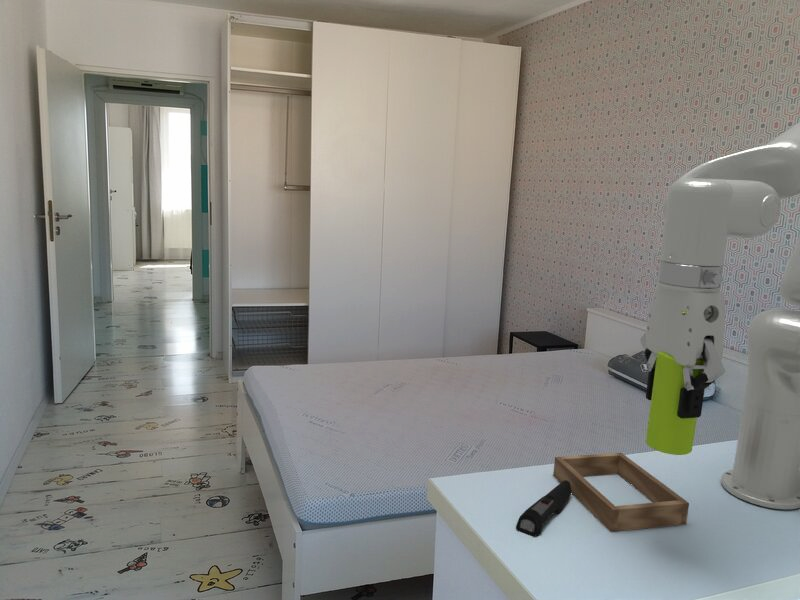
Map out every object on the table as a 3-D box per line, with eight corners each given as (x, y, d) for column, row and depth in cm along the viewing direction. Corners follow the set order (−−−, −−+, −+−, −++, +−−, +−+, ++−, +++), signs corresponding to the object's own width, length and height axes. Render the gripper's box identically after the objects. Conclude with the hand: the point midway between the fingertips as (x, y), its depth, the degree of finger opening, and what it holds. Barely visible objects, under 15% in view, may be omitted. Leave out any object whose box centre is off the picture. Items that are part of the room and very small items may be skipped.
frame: (619, 470, 114) (621, 452, 113) (686, 524, 97) (689, 503, 96) (553, 475, 111) (555, 457, 110) (610, 531, 94) (613, 510, 93)
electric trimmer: (576, 501, 103) (578, 483, 103) (537, 540, 91) (539, 520, 91) (554, 493, 106) (556, 475, 105) (513, 531, 93) (515, 511, 93)
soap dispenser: (646, 453, 85) (665, 307, 80) (645, 433, 91) (663, 297, 87) (694, 461, 83) (716, 312, 78) (689, 440, 89) (710, 301, 85)
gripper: (765, 288, 75) (743, 431, 79) (671, 266, 92) (656, 385, 95) (711, 288, 73) (691, 435, 77) (625, 266, 90) (611, 388, 93)
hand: (672, 406), depth 86 cm, fingers closed on soap dispenser, 6 cm apart
